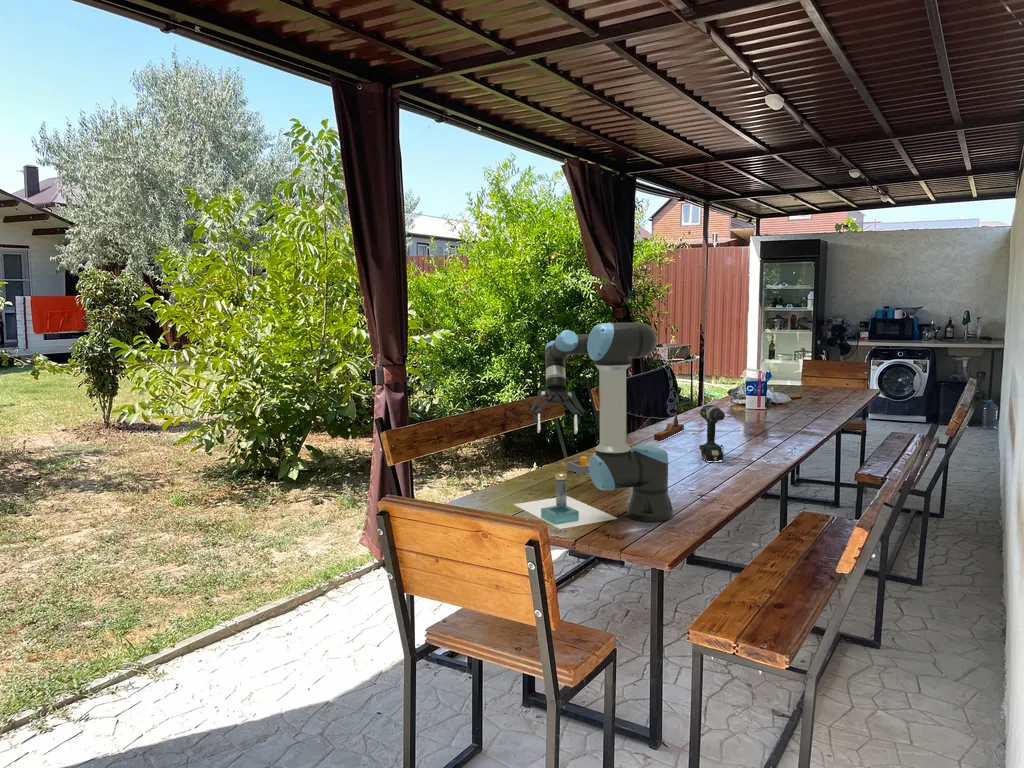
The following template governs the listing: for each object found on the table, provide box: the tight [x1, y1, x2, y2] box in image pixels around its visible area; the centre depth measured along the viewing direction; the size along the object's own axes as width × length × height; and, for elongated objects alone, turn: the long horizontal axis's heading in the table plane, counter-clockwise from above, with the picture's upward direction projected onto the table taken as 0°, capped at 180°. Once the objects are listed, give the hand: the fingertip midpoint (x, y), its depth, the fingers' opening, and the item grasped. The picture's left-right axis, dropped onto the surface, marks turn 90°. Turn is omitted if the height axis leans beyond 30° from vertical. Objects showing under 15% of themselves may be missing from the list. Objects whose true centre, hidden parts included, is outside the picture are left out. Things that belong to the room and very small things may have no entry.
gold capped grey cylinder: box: [554, 472, 568, 506], centre depth 251 cm, size 4×4×12 cm
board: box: [513, 495, 619, 530], centre depth 247 cm, size 32×22×1 cm
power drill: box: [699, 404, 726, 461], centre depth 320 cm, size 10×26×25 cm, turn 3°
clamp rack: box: [566, 458, 589, 475], centre depth 310 cm, size 11×19×4 cm, turn 117°
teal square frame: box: [541, 505, 579, 524], centre depth 238 cm, size 9×9×3 cm
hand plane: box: [653, 414, 685, 441], centre depth 381 cm, size 34×5×10 cm, turn 150°
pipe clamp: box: [579, 452, 595, 466], centre depth 309 cm, size 12×4×6 cm, turn 140°
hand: (557, 432), depth 264 cm, fingers open, 13 cm apart
